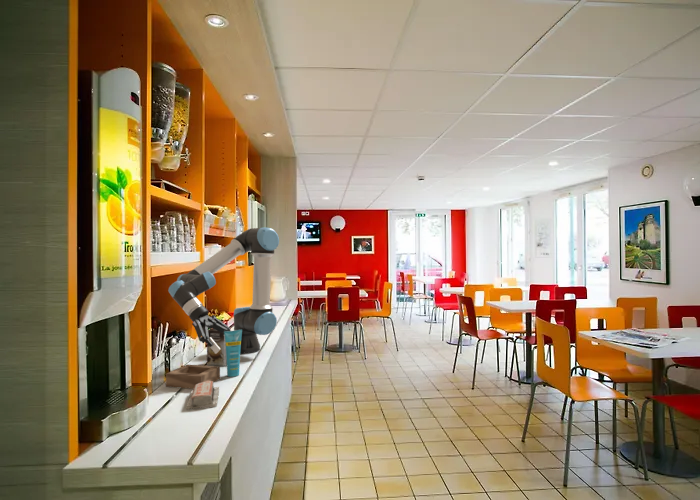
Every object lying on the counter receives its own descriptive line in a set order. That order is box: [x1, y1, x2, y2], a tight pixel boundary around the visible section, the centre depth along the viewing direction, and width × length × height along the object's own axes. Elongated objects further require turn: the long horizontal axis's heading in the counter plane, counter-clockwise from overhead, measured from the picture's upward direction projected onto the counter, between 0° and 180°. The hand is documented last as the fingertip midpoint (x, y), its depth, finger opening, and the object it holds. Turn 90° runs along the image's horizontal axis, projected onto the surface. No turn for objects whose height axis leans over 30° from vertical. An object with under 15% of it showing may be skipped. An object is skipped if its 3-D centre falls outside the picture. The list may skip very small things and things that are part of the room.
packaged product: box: [186, 381, 220, 411], centre depth 149 cm, size 18×5×10 cm
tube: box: [224, 330, 242, 378], centre depth 176 cm, size 7×5×19 cm, turn 123°
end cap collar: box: [165, 364, 221, 390], centre depth 167 cm, size 14×16×5 cm
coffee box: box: [206, 328, 232, 367], centre depth 195 cm, size 9×6×16 cm
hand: (227, 347), depth 176 cm, fingers open, 13 cm apart
